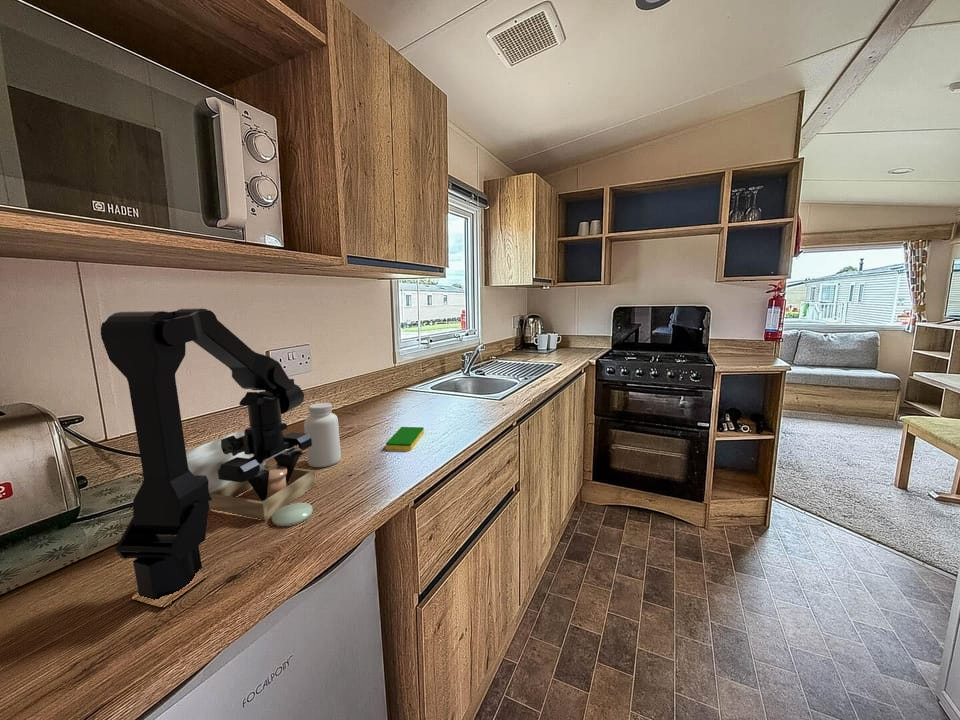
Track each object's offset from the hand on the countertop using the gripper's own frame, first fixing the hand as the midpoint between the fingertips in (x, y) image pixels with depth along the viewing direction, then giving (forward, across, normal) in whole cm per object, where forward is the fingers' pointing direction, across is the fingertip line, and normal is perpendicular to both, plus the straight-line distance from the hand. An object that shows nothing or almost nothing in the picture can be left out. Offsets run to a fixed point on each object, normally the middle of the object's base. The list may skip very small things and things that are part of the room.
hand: (273, 493), depth 80 cm
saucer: (+1, +4, +9) cm, 10 cm away
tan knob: (+1, 0, 0) cm, 1 cm away
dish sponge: (+2, -36, +12) cm, 39 cm away
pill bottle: (+2, -18, -2) cm, 19 cm away
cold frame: (+1, 0, -5) cm, 5 cm away
